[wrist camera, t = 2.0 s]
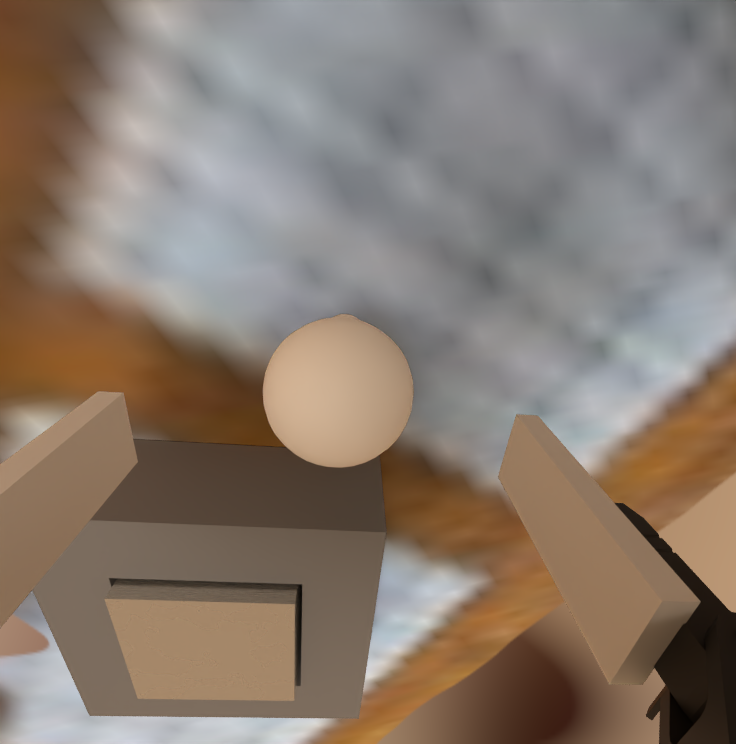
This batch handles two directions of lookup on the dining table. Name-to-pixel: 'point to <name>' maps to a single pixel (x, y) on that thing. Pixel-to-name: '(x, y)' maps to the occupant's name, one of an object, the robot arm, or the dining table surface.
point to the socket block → (227, 567)
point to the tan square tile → (208, 638)
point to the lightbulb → (338, 392)
